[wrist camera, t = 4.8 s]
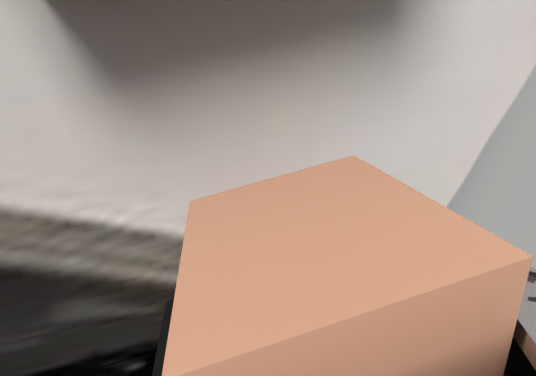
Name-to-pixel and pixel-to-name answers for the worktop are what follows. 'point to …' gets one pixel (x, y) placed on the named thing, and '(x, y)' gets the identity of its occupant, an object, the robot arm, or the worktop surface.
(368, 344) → the peach cube
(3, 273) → the worktop surface
